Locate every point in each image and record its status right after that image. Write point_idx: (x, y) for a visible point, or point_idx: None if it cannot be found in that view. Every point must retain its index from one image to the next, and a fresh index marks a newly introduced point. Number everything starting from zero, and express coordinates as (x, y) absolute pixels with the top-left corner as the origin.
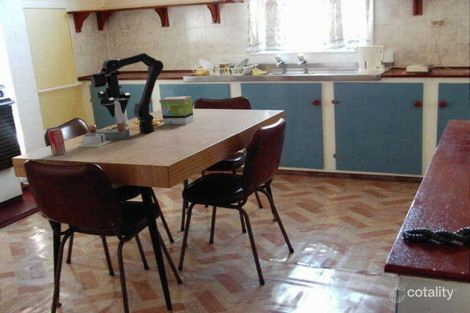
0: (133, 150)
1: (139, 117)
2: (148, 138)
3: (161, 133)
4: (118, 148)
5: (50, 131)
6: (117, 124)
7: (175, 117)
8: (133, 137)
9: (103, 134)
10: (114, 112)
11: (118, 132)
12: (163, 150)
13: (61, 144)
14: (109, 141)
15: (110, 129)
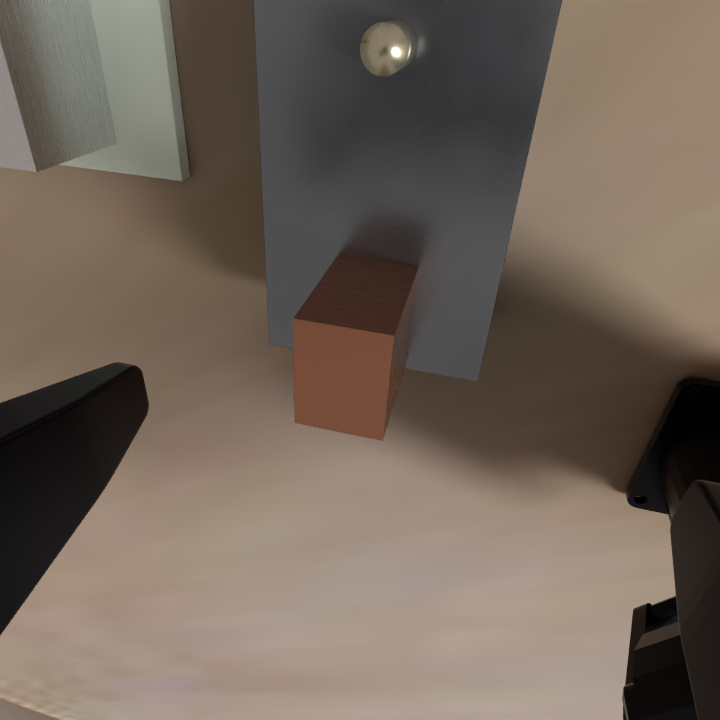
0: None
1: (648, 641)
2: (359, 531)
3: (573, 593)
4: None
5: None
6: (300, 323)
7: None
8: (433, 379)
9: (16, 163)
10: (64, 536)
11: (268, 299)
12: (70, 642)
13: None
14: (164, 177)
15: (370, 64)
